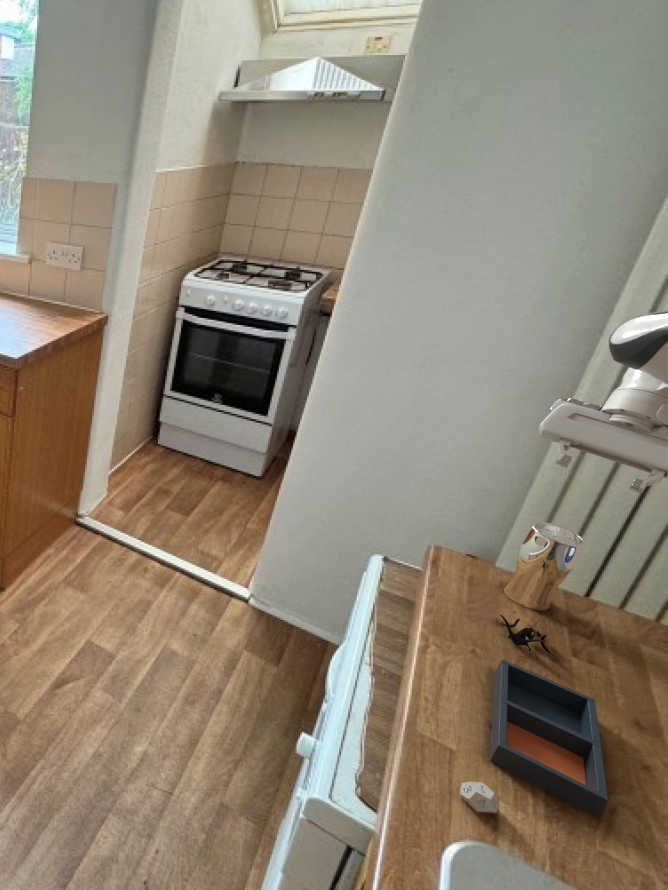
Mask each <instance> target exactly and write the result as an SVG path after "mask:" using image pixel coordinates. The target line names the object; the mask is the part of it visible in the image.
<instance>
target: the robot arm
mask: <svg viewBox="0 0 668 890" xmlns="http://www.w3.org/2000/svg"><path fill="white" fill-rule="evenodd" d="M608 349H609V352H610V355H611V358H612V360H613V361H614V362H616V363H618V364H620V365H624V366H626V367H627V370H626V371H625V373H624V374H623V377H622V381H621V384H620V385H619V386H618V387H616V388H615V389H614V390H613V391H612V392H611V393H610V395H609V396H608V398H607V400H606V401H605V403H604V404H603V405H602V406H601V405H598V404H595V403H591V402H586V401H582V400H579V399H576V398H573V397H569V398H561V399H557V400H555V401H554V402H553V404H551V406H550V408H549V412H550V413H549V414H547V416H546V417H545V418H544V419H543V420H542V422H541V423H540V424H539V427H538V434H539V435H540V437H541V438H542V439H544V440H547V441H550V442H554V443H556V444H557V451H558V455H559V457H557V459H556V461H555V464H556V465H558V466H560V467H564V468H568V467H569V465H570V464H571V462H572V460H573V456H571V455H568V454H567V452H568V451H569V450H570V449H571V448H572V449H575V450H578V451H581V452H585V453H587V454H591V455H594V456H596V457H599V458H601V459H605V460H609V461H612V462H615V463H618V464H621V465H623V466H627V467H629V468H634V469H636V470H640V471H642V472H645V473H649V477H647V478H644V479H640V478H637V477H635V478H634V479H633V482H632V483H630V486H629V490H630V491H632V492H635V493H638V494H642V493H643V492H644V491H645V489H646V487H651V486H653V485H656V484H658V483H661V482H662V480H663V479H667V480H668V309H667V310H661V311H654V312H649V313H645V314H641V315H637V316H635V317H632V318H630V319H627V320H626V321H624V322H623V323H621V324H620V325H619V326H617V327H616V328H615V329H614V330H613V331H612V332H611V334H610V335H609V338H608Z"/></svg>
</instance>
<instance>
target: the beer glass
mask: <svg viewBox="0 0 668 890" xmlns="http://www.w3.org/2000/svg"><path fill="white" fill-rule="evenodd" d="M585 544H586V542H585V539H584V538H583V537H582V536H581V535H580V534H578V533H576V532H575V531H572V530H571V529H569V528H567V527H564V526H562V525H558V524H555V523H551V522H546V521H545V522H544V521H536V522H533V523H532V525H531V526H530V528H529V530H528V531H527V533H526V534H525V536H524V538H523V539H522V541H521V544H520V547H519V550H518V553H517V559H516V563H515V568H514V569H515V570H514V573H513V576H512V578H511V580H510V581H509V583H507V585H506V586H505V587H504V589H503V591H504V593H505V595H506V596H507V597H508V598H509V599H511V600H512V601H514V602H515V603H517V604H519V605H520V606H524V608H525V607H526V608H528V609H531V610H535V611H547V610H549V609H550V605H551V600H552V596H553V594H554V593H555V591H556V589H558V587H560V585H562V583H563V582H565V580H566V579H567V578H568V577H569V575H570V574H572V572H573V570H574V569H575V567H576V565H577V563H578V561H579V559H580V557H581V554H582V552H583V548H584V546H585Z"/></svg>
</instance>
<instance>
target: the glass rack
mask: <svg viewBox="0 0 668 890" xmlns="http://www.w3.org/2000/svg"><path fill="white" fill-rule="evenodd" d="M493 676H494V677H493V694H492V712H491V713H492V714H491V731H490V733H491V735H490V754H489V755H490V756H489V761H490V762H492V763H493V764H495V765H498V766H499V767H501V768H503V769H505V770H506V771H509V772H510V773H512V774H514V775H517V776H519V777H520V778H523V779H524V780H526V781H528V782H530V783H532V784H534V785H535V786H538V787H540V788H542V789H544V790H545V791H547V792H549V793H551V794H553V795H555V796H556V797H559V798H561V799H563V800H565V801H567V802H569V803H571V804H573V806H576V807H578V808H580V809H581V810H583V811H586V812H587V813H590V814H592V815H593V816H596V817H598V816H599V815H600V814H601V812H602V810H603V809H604V807H605V806H606V805H607V803H608V802H609V799H608V798H609V797H608V789H607V782H606V774H605V767H604V760H603V759H604V758H603V751H602V744H601V736H600V728H599V719H598V711H597V706H596V699H595V698H593V697H591V696H589V695H586V694H584V693H582V692H579V691H577V690H575V689H572V688H570V687H568V686H565V685H564V684H561V683H559V682H557V681H554V680H551V679H549V678H546V677H545V676H542V675H540V674H538V673H535V672H533V671H530V669H529V670H528V669H527V668H524V667H522V666H519V665H517V664H515V663H512V662H510V661H507V660H505V659H504V658H501V659H500V661H499V663H498V665H497V667H496V669H495V671H494V674H493Z"/></svg>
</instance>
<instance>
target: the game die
mask: <svg viewBox="0 0 668 890" xmlns="http://www.w3.org/2000/svg"><path fill="white" fill-rule="evenodd" d="M459 796H460V797H461V799H462V800H463V801H465V802H466V803H467V804H468V806H469V807H471V808H472V810H474V811H475V812H476V813H485V814H487V813H488V814H496V813H498V807H499V800H498V798H497V796H496V793H495V792H494V791H493V790H492V789H491V788H489V787H488V786H487V785H486V784H485V783H484V782H483V781H464V782H461V784H460V790H459Z"/></svg>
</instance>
